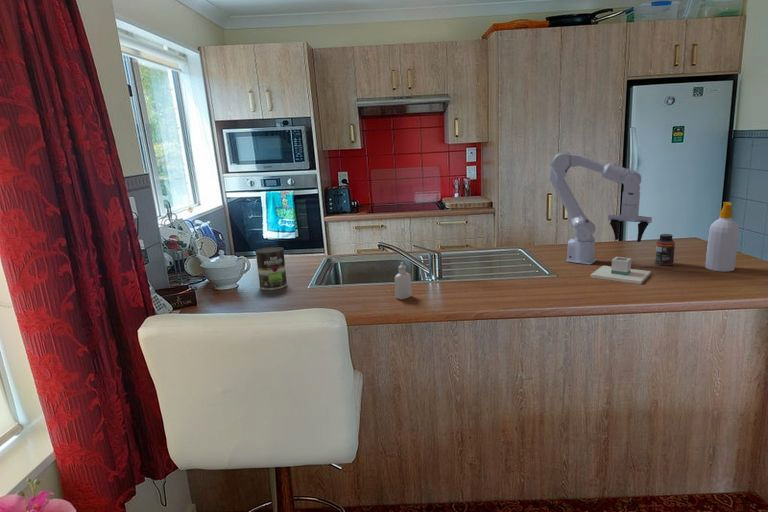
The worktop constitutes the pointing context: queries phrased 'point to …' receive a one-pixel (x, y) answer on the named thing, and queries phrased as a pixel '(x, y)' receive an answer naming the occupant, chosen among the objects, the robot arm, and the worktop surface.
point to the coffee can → (271, 268)
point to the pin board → (632, 277)
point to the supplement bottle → (665, 250)
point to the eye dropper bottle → (402, 283)
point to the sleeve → (621, 266)
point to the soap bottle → (722, 242)
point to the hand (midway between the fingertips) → (627, 240)
